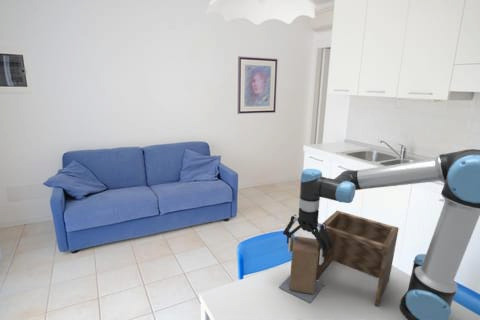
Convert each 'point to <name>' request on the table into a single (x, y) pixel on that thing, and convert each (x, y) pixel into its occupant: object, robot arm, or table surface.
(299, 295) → the mat
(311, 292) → the wooden block
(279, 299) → the table surface
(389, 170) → the robot arm
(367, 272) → the cubby
